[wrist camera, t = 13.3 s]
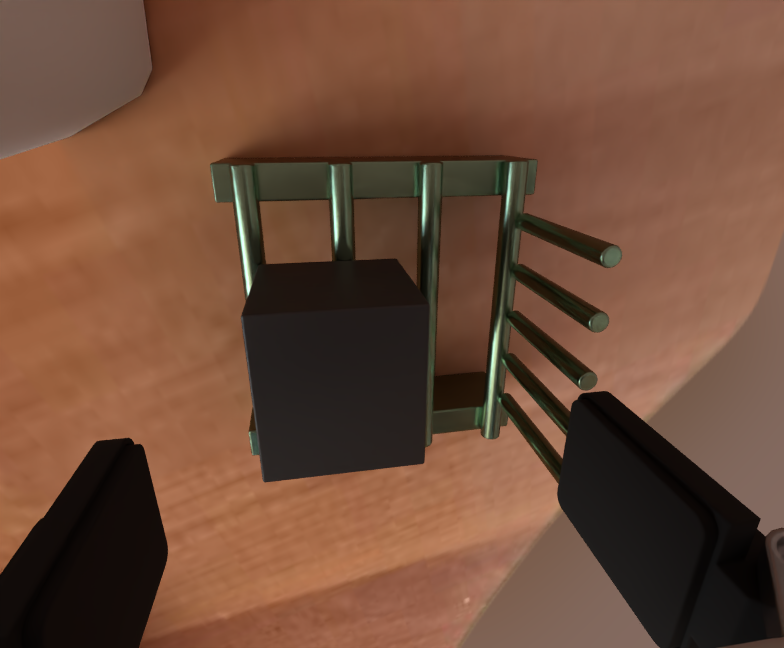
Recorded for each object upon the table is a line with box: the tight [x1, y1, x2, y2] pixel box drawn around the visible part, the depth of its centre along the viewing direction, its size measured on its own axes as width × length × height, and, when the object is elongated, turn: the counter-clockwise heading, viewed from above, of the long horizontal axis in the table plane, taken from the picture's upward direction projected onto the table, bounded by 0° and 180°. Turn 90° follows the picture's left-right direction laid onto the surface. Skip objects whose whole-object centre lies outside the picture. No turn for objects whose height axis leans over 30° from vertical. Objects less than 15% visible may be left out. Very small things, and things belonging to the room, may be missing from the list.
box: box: [241, 259, 430, 482], centre depth 14 cm, size 5×5×5 cm
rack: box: [210, 155, 622, 484], centre depth 16 cm, size 11×11×9 cm
